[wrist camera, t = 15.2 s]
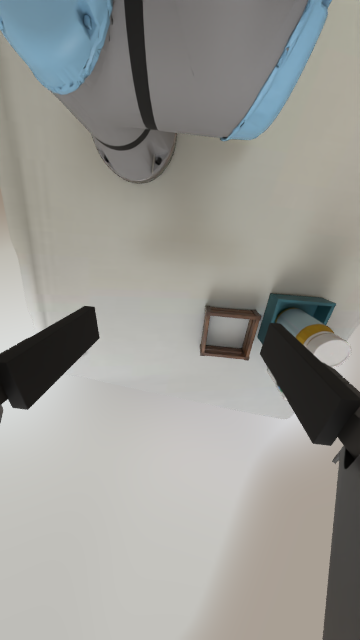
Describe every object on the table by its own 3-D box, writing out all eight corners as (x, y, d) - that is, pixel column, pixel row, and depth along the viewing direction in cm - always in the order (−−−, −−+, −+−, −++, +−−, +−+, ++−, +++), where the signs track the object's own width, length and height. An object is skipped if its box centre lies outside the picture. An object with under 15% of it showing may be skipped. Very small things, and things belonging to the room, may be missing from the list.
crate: (205, 305, 44) (206, 311, 40) (255, 310, 44) (261, 316, 40) (199, 347, 50) (200, 355, 46) (244, 351, 49) (248, 360, 45)
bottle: (309, 313, 42) (364, 347, 29) (290, 335, 45) (332, 375, 32) (286, 302, 42) (330, 331, 28) (268, 325, 44) (301, 361, 31)
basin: (270, 293, 41) (278, 298, 37) (322, 297, 41) (336, 303, 37) (257, 336, 47) (263, 345, 43) (303, 341, 46) (313, 350, 42)
